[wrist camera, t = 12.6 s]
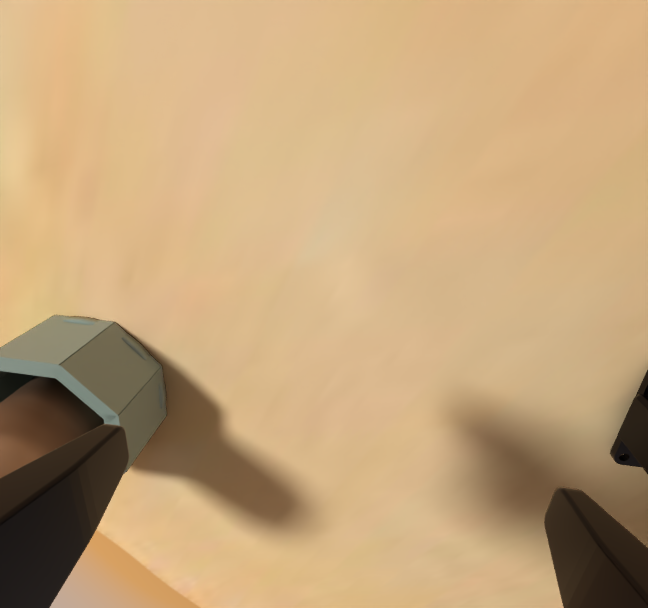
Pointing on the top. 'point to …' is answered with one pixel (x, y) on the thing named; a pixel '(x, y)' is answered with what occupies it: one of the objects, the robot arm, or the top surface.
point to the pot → (92, 372)
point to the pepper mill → (40, 421)
